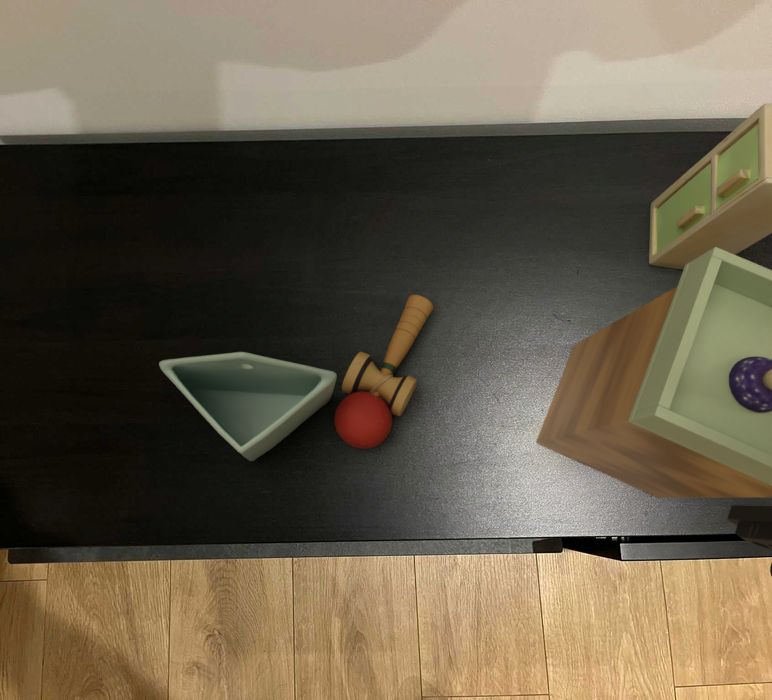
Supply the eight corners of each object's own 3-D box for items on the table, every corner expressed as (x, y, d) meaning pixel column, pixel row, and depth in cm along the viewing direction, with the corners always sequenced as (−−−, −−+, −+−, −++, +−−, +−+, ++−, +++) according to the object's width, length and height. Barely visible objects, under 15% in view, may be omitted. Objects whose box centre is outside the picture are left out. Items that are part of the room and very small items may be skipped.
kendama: (379, 293, 80) (310, 430, 74) (398, 274, 74) (325, 421, 68) (436, 326, 81) (372, 464, 75) (460, 310, 75) (393, 458, 69)
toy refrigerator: (643, 200, 81) (758, 99, 61) (705, 208, 81) (842, 110, 61) (640, 264, 80) (757, 183, 59) (704, 273, 79) (844, 194, 59)
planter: (175, 456, 75) (131, 440, 55) (183, 383, 76) (143, 344, 57) (327, 466, 75) (335, 454, 55) (331, 393, 76) (341, 357, 57)
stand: (693, 397, 76) (866, 351, 53) (658, 498, 74) (822, 497, 51) (574, 344, 78) (691, 277, 54) (535, 442, 75) (641, 416, 52)
